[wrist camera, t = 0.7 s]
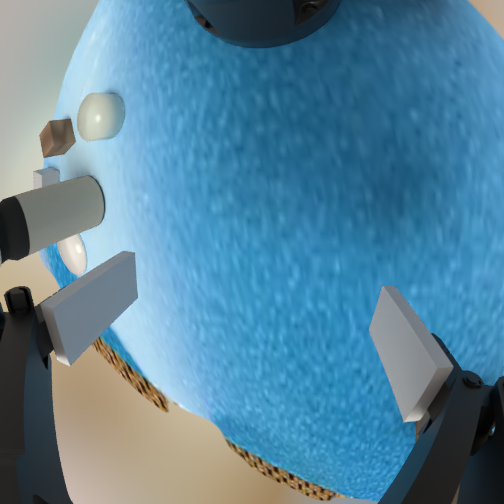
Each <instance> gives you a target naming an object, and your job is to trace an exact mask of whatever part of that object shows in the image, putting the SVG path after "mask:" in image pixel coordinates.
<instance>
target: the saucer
mask: <svg viewBox="0 0 504 504" xmlns="http://www.w3.org/2000/svg"><path fill="white" fill-rule="evenodd" d="M57 243H58V248H59V252H60V255H61V257H62V259H63V261H64V263H65V265H66V266H67V268H68V269H69V270H70V271H71V272H72V273H74V274H75V275H81V274H83V273H84V272H85V271H86V268H87V254H86V249H85V246H84V243H83V241H82V238H81V236H80V234H79V233H78V234H76V235H73V236H71V237H69V238H66V239H64V240H62V241H59V242H57Z"/></svg>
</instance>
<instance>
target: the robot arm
mask: <svg viewBox="0 0 504 504" xmlns="http://www.w3.org/2000/svg"><path fill="white" fill-rule="evenodd" d="M184 1H185V3H186V4H187V6H188V7H189V9H190V11H191V12H192V14H193V16H194V17H195V19H196V20H197V22H198V23H199V24H200V25H201V26H202V27H203V28H204V29H205V30H206V31H208V32H209V33H211V34H213V35H214V36H216V37H217V38H219V39H221V40H223V41H225V42H227V43H230V44H233V45H236V46H241V47H248V48H266V47H274V46H279V45H284V44H287V43H291V42H293V41H296V40H299V39H301V38H303V37H305V36H307V35H309V34H311V33H313V32H314V31H316V30H317V29H319V28H320V27H321V26H323V25H324V24H325V23H326V22H327V21H328V20H329V19H330V18H331V17H332V15H333V14H334V13H335V11H336V9H337V7H338V5H339V2H340V0H184ZM4 297H5V301H6V304H7V308H8V311H9V312H3V309H2V305H1V303H0V504H73V502H72V501H71V499H70V497H69V495H68V492H67V488H66V484H65V480H64V476H63V472H62V467H61V462H60V457H59V452H58V445H57V439H56V431H55V424H54V413H53V401H52V378H51V377H52V374H51V357H50V354H49V353H51V352H52V351H53V350H54V351H55V354H56V357H57V359H58V361H60V362H62V363H64V364H66V365H68V366H71V365H72V364H73V363H74V362H75V361H76V360H77V358H79V357H80V355H81V354H82V353H83V352H84V351H85V350H86V349H87V348H88V347H89V346H90V345H91V344H92V343H93V342H94V341H95V340H96V339H97V338H98V337H99V336H100V335H101V334H102V333H103V332H104V331H105V330H106V329H107V328H108V327H109V326H110V325H111V324H112V323H113V322H114V321H115V320H116V319H117V318H118V317H119V316H120V315H121V314H122V313H123V312H124V311H125V310H126V309H127V308H128V307H129V306H130V305H131V304H132V303H133V302H134V301H135V300H136V299H137V298H138V292H137V280H136V265H135V253H134V252H128V251H122V252H121V253H119V254H117V255H116V256H114V257H112V258H111V259H109V260H107V261H106V262H104V263H102V264H101V265H99V266H98V267H96V268H94V269H93V270H91V271H89V272H88V273H86V274H85V275H83V276H82V277H80V278H78V279H77V280H75V281H74V282H72V283H71V284H69V285H68V286H65V287H63V288H62V289H60V290H59V291H58V292H56V293H54V294H53V295H52V296H50V297H48V298H47V299H46V300H44V301H43V302H41V303H40V304H38V305H37V306H35V307H34V303H33V299H32V296H31V291H30V289H29V288H28V287H25V286H19V287H15V288H12V289H10V290H8V291H7V292H6V293H5V294H4ZM369 332H370V335H371V337H372V339H373V342H374V344H375V347H376V349H377V351H378V354H379V356H380V359H381V361H382V364H383V366H384V369H385V371H386V374H387V377H388V379H389V382H390V384H391V387H392V390H393V393H394V395H395V398H396V401H397V404H398V406H399V409H400V412H401V415H402V418H403V421H404V422H410V421H418V420H420V419H421V418H422V417H423V415H424V414H425V412H426V411H427V410H428V412H429V415H430V418H429V419H428V420H427V422H426V423H425V424H424V426H423V427H422V428H421V430H420V431H419V432H418V433H417V435H420V436H419V438H418V440H417V442H416V443H415V445H414V447H413V449H412V451H411V453H410V454H409V456H408V458H407V460H406V461H405V463H404V465H403V466H402V468H401V470H400V471H399V473H398V475H397V476H396V478H395V479H394V481H393V482H392V484H391V485H390V487H389V488H388V490H387V491H386V493H385V494H384V496H383V497H382V498H381V500H380V501H379V502H378V504H451V503H452V501H453V499H454V497H455V494H456V492H457V489H458V487H459V493H458V499H457V504H504V376H502V377H499V379H498V380H497V382H496V383H495V385H494V386H489V385H484V383H483V381H482V379H481V378H480V377H479V376H478V375H477V374H475V373H473V372H471V371H463V370H462V369H461V367H460V366H459V364H458V363H457V362H456V360H455V359H454V357H453V356H452V354H450V351H449V350H448V349H447V348H446V346H445V344H444V343H443V342H442V340H441V339H440V338H438V337H437V336H436V335H435V334H433V333H430V332H429V330H428V329H427V327H426V326H425V325H424V323H423V322H422V321H421V319H420V318H419V316H418V315H417V314H416V313H415V311H414V310H413V309H412V307H411V306H410V305H409V303H408V302H407V301H406V299H405V298H404V297H403V296H402V294H401V293H400V292H399V291H398V289H397V288H396V287H395V286H386V285H382V289H381V293H380V296H379V299H378V303H377V306H376V309H375V312H374V316H373V319H372V322H371V325H370V328H369ZM494 427H495V430H494V433H493V435H492V429H493V428H494ZM459 484H460V486H459Z"/></svg>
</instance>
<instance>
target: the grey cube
mask: <svg viewBox="0 0 504 504" xmlns="http://www.w3.org/2000/svg"><path fill="white" fill-rule="evenodd" d="M59 179H60V171H58V170H56V169H54V168H51V167H50V168H45V169H42V170H37V171H34V189H38V188H41V187H45V186H48V185H52V184H56V183H59Z"/></svg>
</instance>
